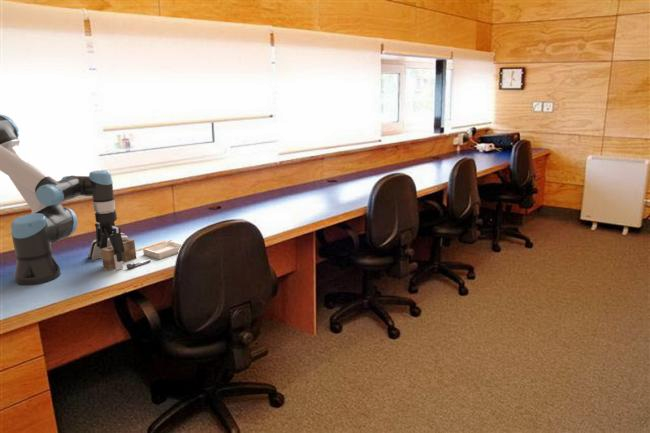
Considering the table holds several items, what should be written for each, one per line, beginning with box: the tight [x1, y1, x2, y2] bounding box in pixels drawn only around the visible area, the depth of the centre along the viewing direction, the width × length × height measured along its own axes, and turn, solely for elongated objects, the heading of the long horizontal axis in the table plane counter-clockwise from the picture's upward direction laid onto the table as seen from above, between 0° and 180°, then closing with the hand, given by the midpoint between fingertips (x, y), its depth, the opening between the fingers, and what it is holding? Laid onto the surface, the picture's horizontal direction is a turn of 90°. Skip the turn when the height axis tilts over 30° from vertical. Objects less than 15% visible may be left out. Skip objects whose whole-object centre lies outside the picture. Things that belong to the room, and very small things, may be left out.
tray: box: [142, 240, 183, 260], centre depth 215 cm, size 14×11×3 cm
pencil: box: [135, 240, 167, 252], centre depth 223 cm, size 1×18×1 cm, turn 143°
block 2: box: [121, 237, 137, 263], centre depth 208 cm, size 5×5×8 cm
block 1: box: [101, 246, 116, 272], centre depth 198 cm, size 5×5×8 cm
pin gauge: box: [126, 259, 151, 270], centre depth 201 cm, size 10×2×2 cm, turn 143°
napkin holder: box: [87, 232, 129, 261], centre depth 214 cm, size 17×5×10 cm, turn 141°
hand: (112, 266), depth 199 cm, fingers open, 8 cm apart
